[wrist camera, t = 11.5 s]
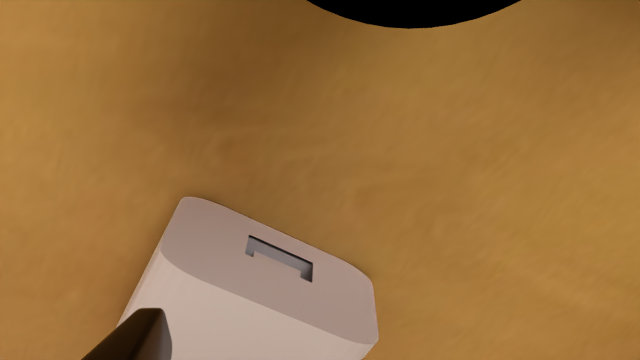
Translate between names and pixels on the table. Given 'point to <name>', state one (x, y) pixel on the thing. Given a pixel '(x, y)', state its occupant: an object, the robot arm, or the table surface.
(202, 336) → the charger
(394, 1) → the supplement container
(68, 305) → the table surface
